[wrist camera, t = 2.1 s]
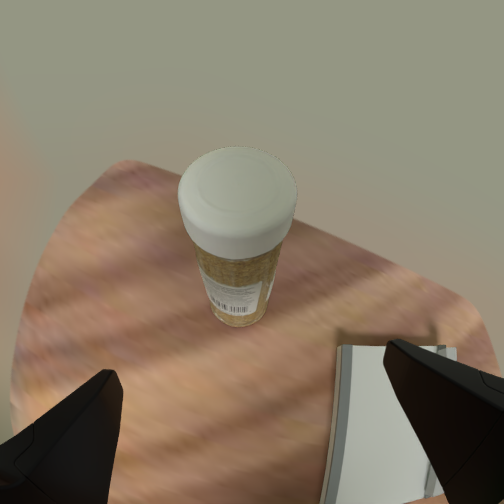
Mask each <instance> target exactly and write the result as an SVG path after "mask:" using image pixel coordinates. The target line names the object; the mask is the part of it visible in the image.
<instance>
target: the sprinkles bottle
mask: <svg viewBox="0 0 504 504" xmlns="http://www.w3.org/2000/svg"><path fill="white" fill-rule="evenodd" d="M296 199H297V187H296V182H295V180H294V177H293V175H292V173H291V171H290V170H289V169H288V167H287V166H286V165H285V164H284V163H283V162H282V161H280V160H279V159H278V158H277V157H275V156H273V155H271V154H269V153H267V152H265V151H262V150H259V149H256V148H251V147H243V146H233V147H224V148H220V149H216V150H213V151H211V152H208V153H206V154H204V155H202V156H201V157H199V158H198V159H196V160H195V161H194V162H193V163H192V164H191V165H190V166H189V167H188V168H187V169H186V171H185V172H184V174H183V175H182V178H181V180H180V182H179V187H178V201H179V207H180V211H181V215H182V219H183V222H184V225H185V228H186V231H187V233H188V234H189V236H190V237H191V239H192V240H193V243H194V247H195V251H196V258H197V262H198V266H199V269H200V272H201V276H202V279H203V282H204V285H205V288H206V292H207V294H208V297H209V299H210V306H211V309H212V311H213V313H214V315H215V316H216V317H217V318H218V319H219V320H220V321H222V322H223V323H225V324H227V325H229V326H233V327H244V326H248V325H252V324H253V323H255V322H257V321H258V320H259V319H260V318H261V317H262V316H263V314H264V313H265V311H266V308H267V305H268V298H269V296H270V293H271V289H272V286H273V282H274V278H275V272H276V266H277V262H278V258H279V254H280V249H281V245H282V240H283V239H284V237H285V236H286V235H287V233H288V231H289V229H290V227H291V223H292V219H293V216H294V211H295V206H296Z"/></svg>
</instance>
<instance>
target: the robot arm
mask: <svg viewBox="0 0 504 504" xmlns="http://www.w3.org/2000/svg"><path fill="white" fill-rule="evenodd" d="M383 366H384V368H385V371H386V373H387V375H388V378H389V380H390V383H391V385H392V388H393V390H394V393H395V395H396V397H397V399H398V401H399V403H400V405H401V407H402V409H403V411H404V413H405V415H406V416H407V418H408V420H409V422H410V424H411V426H412V428H413V430H414V432H415V434H416V436H417V437H418V439H419V441H420V443H421V445H422V447H423V449H424V451H425V453H426V455H427V457H428V459H429V461H430V463H431V466H432V468H433V470H434V472H435V474H436V476H437V478H438V480H439V482H440V485H441V487H443V488H442V489H443V491H444V494H445V496H446V498H447V500H448V503H449V504H504V378H501V377H497V376H495V375H492V374H489V373H486V372H483V371H481V370H478V369H475V368H473V367H470V366H467V365H465V364H462V363H460V362H457V361H454V360H452V359H449V358H447V357H444V356H441V355H439V354H436V353H434V352H431V351H429V350H426V349H424V348H421V347H419V346H416V345H414V344H411V343H409V342H406V341H404V340H401V339H394V340H390V341H388V343H387V345H386V349H385V353H384V357H383ZM122 402H123V388H122V385H121V383H120V381H119V378H118V376H117V373H116V372H115V371H114V370H111V369H103V370H101V371H100V372H99V373H97V374H96V375H95V376H93V377H92V378H91V379H89V380H88V381H87V382H86V383H84V384H83V385H82V386H80V387H79V388H78V389H76V390H75V391H74V392H72V393H71V394H70V395H69V396H67V397H66V398H65V399H63V400H62V401H61V402H59V403H58V404H57V405H55V406H54V407H53V408H52V409H50V410H49V411H48V412H46V413H45V414H44V415H42V416H41V417H40V418H38V419H37V420H36V421H34V424H33V423H32V424H30V425H29V426H28V427H27V428H25V429H24V430H22V431H21V432H20V433H18V434H17V435H15V436H14V437H12V438H11V439H9V440H8V441H6V442H5V443H3V444H1V445H0V504H107V502H108V495H109V488H110V481H111V475H112V469H113V464H114V458H115V453H116V448H117V442H118V437H119V432H120V422H121V411H122Z"/></svg>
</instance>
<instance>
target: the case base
mask: <svg viewBox="0 0 504 504" xmlns="http://www.w3.org/2000/svg"><path fill="white" fill-rule="evenodd" d="M419 347H421V348H424V349H426V350H429V351H431V352H434V353H436V354H439V355H441V356H444V357H447V358H449V359H452V360H454V361H457V354H456V347H452V348H446V345H438V346H419ZM385 349H386V346H354V345H348V344H342V345H340V346H339V347H337V361H336V377H335V391H334V403H333V414H332V423H331V432H330V441H329V448H328V456H327V463H326V469H325V476H324V482H323V488H322V493H321V499H320V504H403V503H407V502H411V501H415V500H418V499H421V498H429V497H434V496H437V495H440V494H443V493H444V491H443V489H442V488H443V487H441V485H440V482H439V480H438V478H437V476H436V474H435V472H434V470H433V468H432V466H431V463H430V461H429V459H428V457H427V455H426V453H425V451H424V449H423V447H422V445H421V443H420V441H419V439H418V437H417V436H416V434H415V432H414V430H413V428H412V426H411V424H410V422H409V420H408V418H407V416H406V415H405V413H404V411H403V409H402V407H401V405H400V403H399V401H398V399H397V397H396V395H395V393H394V390H393V388H392V385H391V383H390V380H389V378H388V375H387V373H386V371H385V368H384V366H383V357H384V353H385Z"/></svg>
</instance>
